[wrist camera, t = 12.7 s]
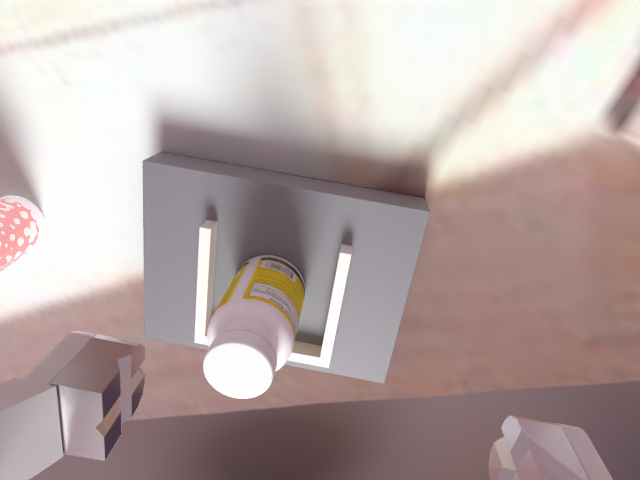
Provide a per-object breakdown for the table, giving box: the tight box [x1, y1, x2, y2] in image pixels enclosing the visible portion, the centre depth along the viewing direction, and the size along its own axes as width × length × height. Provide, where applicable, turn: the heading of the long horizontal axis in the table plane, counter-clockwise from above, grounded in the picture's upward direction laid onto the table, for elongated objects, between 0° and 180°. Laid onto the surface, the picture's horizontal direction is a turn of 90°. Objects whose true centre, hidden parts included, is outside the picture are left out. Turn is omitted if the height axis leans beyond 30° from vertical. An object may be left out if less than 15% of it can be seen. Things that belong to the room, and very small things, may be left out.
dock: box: [143, 152, 430, 383], centre depth 34 cm, size 20×15×4 cm
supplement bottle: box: [203, 255, 305, 399], centre depth 29 cm, size 5×5×10 cm
